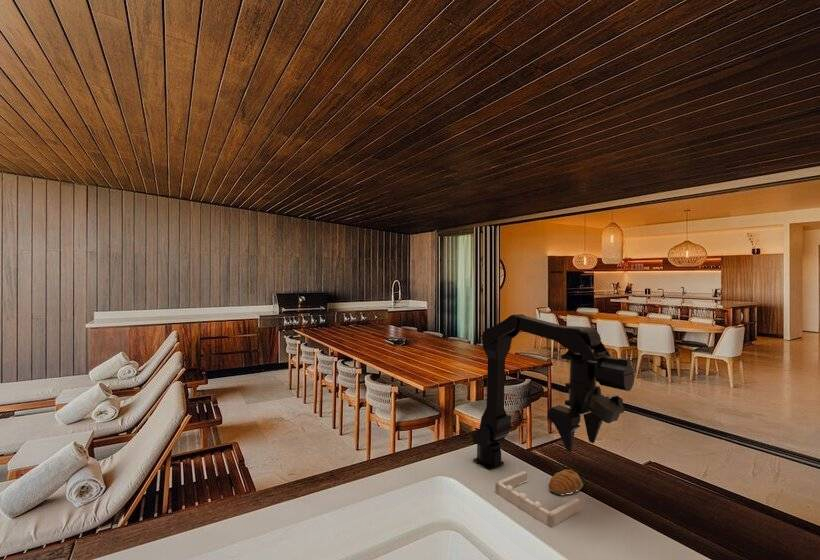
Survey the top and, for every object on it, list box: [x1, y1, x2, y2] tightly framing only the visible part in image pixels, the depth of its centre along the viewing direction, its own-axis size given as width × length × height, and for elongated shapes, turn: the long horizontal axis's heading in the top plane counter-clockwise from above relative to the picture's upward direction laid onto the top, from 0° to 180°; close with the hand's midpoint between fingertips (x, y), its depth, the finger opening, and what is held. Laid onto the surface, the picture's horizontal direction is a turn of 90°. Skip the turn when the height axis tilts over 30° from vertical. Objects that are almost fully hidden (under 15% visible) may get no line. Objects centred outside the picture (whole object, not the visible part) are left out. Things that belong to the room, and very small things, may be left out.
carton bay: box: [494, 470, 581, 528], centre depth 91 cm, size 16×11×3 cm
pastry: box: [548, 468, 584, 495], centre depth 97 cm, size 9×7×4 cm
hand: (580, 446), depth 89 cm, fingers open, 9 cm apart
